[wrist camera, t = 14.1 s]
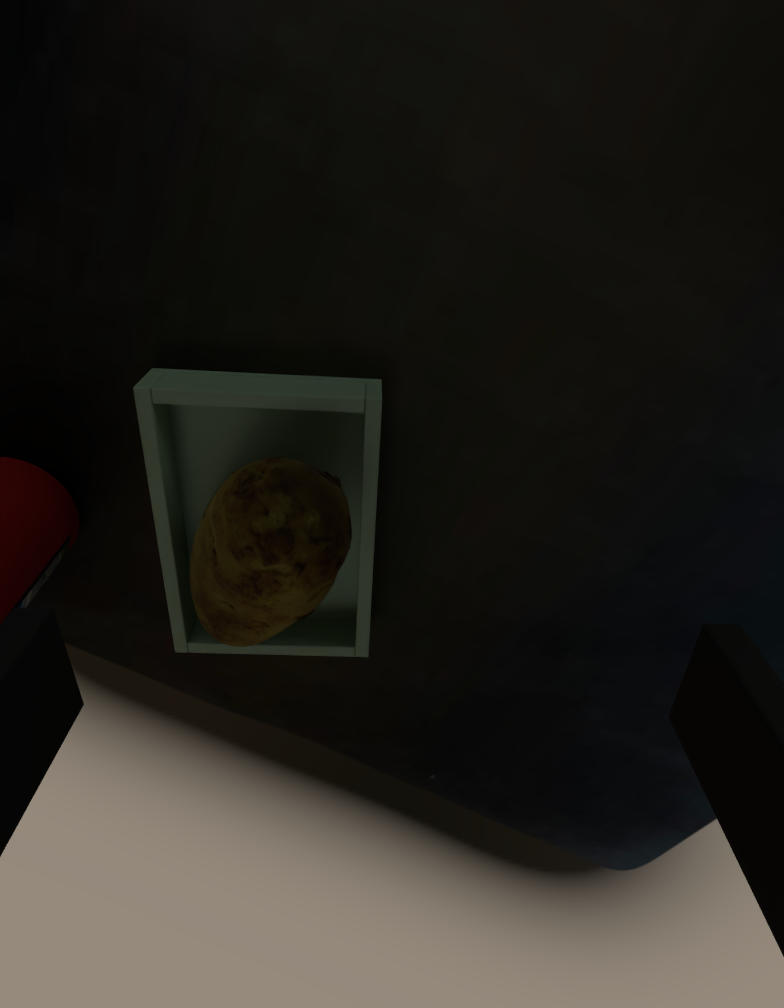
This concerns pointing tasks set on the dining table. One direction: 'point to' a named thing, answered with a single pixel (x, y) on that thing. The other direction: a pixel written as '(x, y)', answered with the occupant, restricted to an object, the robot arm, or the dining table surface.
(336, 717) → the dining table surface
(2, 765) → the robot arm
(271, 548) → the potato
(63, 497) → the beverage can
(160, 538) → the tray
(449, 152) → the dining table surface
